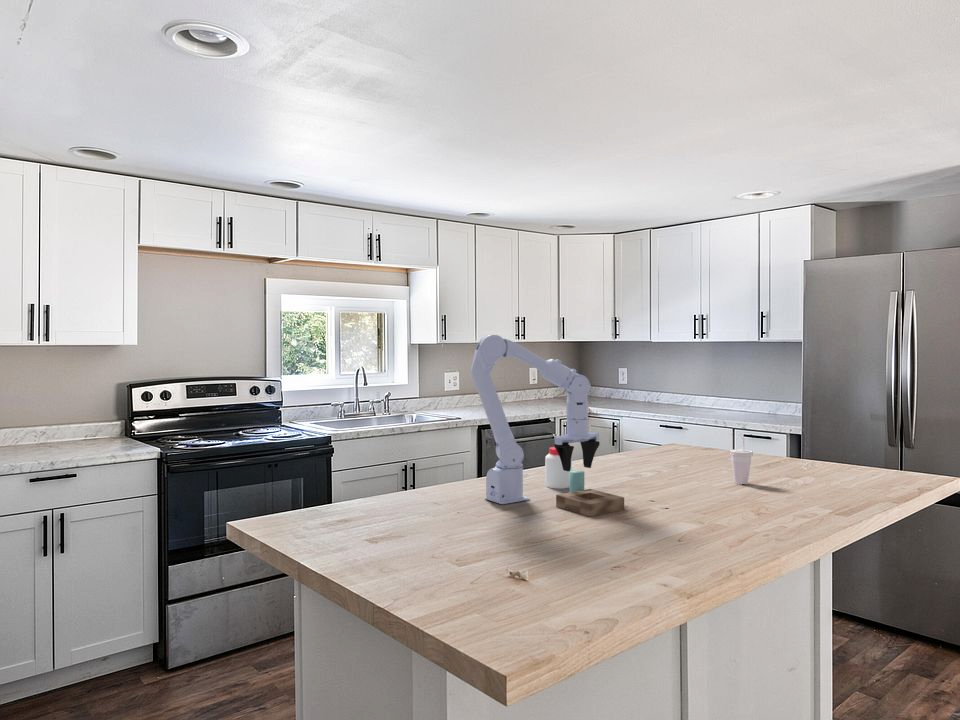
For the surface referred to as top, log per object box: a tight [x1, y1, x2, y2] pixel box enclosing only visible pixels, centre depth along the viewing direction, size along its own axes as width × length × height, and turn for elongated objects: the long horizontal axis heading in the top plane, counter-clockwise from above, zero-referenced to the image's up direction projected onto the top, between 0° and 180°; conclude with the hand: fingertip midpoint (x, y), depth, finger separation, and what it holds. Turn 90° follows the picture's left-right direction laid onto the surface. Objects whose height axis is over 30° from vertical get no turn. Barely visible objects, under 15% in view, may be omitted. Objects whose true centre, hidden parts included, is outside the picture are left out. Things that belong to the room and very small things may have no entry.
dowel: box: [568, 469, 585, 493], centre depth 180 cm, size 4×4×7 cm
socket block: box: [555, 488, 625, 517], centre depth 169 cm, size 12×12×3 cm
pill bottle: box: [544, 446, 573, 490], centre depth 195 cm, size 8×8×11 cm
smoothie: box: [729, 435, 754, 486], centre depth 198 cm, size 6×6×14 cm
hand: (577, 469), depth 180 cm, fingers open, 7 cm apart
